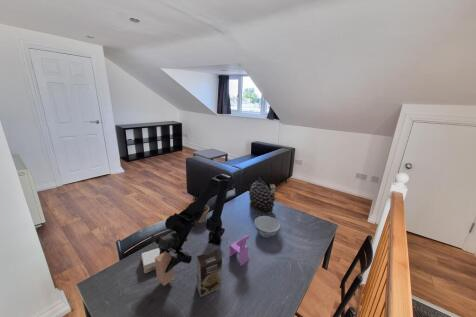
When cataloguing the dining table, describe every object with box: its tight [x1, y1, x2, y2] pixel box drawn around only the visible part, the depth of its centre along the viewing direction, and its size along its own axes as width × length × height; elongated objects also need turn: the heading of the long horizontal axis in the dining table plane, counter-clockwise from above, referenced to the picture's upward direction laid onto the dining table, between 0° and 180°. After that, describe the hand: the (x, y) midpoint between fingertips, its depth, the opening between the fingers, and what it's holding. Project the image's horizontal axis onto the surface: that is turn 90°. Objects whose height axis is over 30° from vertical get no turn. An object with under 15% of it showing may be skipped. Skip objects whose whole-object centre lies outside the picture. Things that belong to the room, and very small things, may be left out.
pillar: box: [155, 251, 175, 287], centre depth 86 cm, size 5×5×12 cm
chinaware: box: [254, 215, 281, 239], centre depth 121 cm, size 15×15×8 cm
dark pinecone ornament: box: [248, 176, 276, 216], centre depth 144 cm, size 21×15×25 cm
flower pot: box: [196, 204, 210, 224], centre depth 130 cm, size 9×9×9 cm
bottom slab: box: [141, 258, 156, 274], centre depth 98 cm, size 9×9×2 cm
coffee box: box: [196, 249, 223, 298], centre depth 85 cm, size 9×6×16 cm
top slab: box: [141, 247, 160, 270], centre depth 96 cm, size 8×8×2 cm
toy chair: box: [228, 234, 250, 267], centre depth 102 cm, size 8×9×15 cm
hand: (161, 269), depth 85 cm, fingers closed on pillar, 5 cm apart
